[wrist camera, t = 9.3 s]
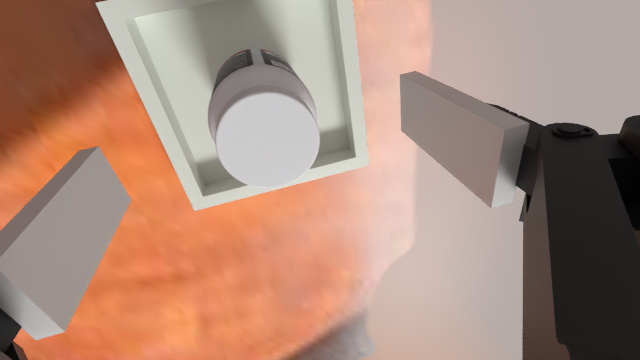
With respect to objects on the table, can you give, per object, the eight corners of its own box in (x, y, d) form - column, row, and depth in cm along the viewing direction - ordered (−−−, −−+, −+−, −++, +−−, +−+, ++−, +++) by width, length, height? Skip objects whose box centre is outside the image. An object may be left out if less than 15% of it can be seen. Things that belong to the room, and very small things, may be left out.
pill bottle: (225, 133, 23) (216, 207, 15) (206, 51, 21) (182, 87, 12) (301, 122, 24) (333, 187, 16) (293, 43, 21) (326, 70, 13)
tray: (111, 2, 19) (95, 2, 17) (336, -42, 20) (347, -47, 18) (198, 193, 26) (194, 210, 24) (359, 152, 27) (369, 165, 25)
